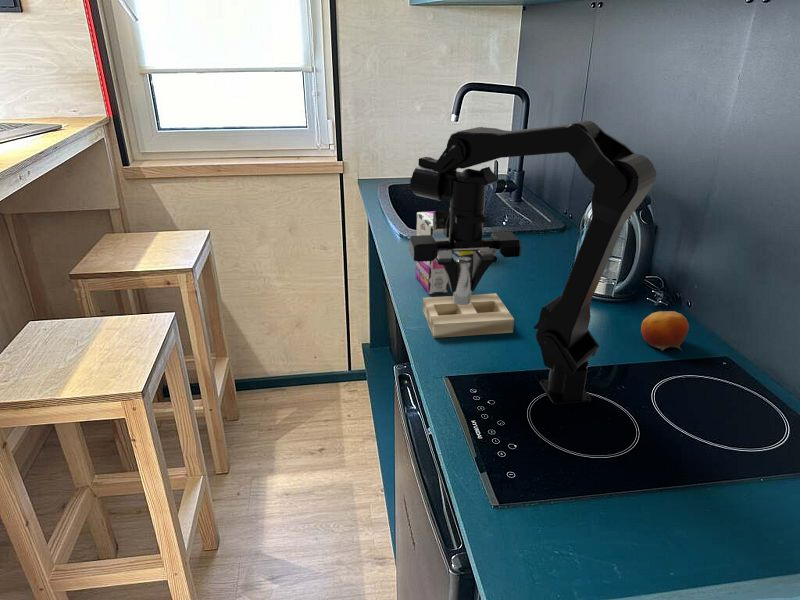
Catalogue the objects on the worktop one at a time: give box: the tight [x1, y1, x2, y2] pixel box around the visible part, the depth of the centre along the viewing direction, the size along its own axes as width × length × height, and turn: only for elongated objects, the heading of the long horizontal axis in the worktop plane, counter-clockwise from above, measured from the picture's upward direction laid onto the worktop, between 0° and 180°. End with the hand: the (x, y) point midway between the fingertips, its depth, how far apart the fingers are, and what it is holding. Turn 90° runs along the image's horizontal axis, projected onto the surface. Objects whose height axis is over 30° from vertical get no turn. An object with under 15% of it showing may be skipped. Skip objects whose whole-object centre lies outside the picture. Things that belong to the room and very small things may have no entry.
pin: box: [452, 256, 473, 305], centre depth 100 cm, size 3×3×8 cm
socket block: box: [422, 293, 515, 339], centre depth 115 cm, size 12×16×3 cm
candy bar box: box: [415, 210, 449, 295], centre depth 129 cm, size 11×5×16 cm, turn 15°
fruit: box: [640, 310, 690, 352], centre depth 106 cm, size 8×8×8 cm
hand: (462, 291), depth 101 cm, fingers closed on pin, 3 cm apart
